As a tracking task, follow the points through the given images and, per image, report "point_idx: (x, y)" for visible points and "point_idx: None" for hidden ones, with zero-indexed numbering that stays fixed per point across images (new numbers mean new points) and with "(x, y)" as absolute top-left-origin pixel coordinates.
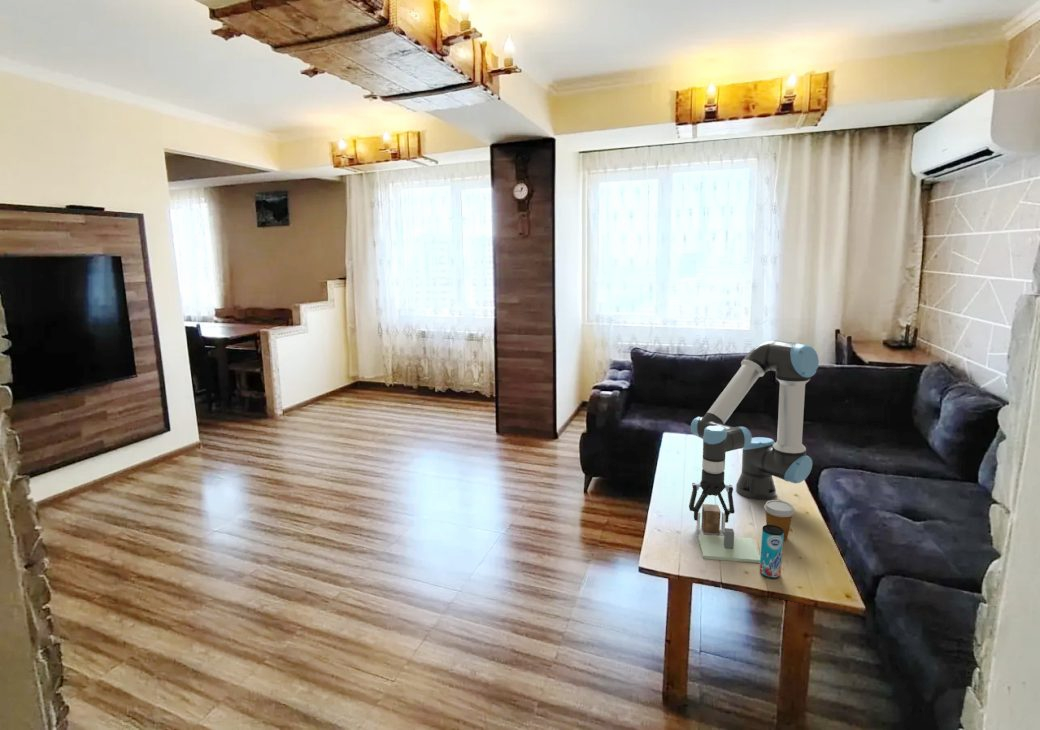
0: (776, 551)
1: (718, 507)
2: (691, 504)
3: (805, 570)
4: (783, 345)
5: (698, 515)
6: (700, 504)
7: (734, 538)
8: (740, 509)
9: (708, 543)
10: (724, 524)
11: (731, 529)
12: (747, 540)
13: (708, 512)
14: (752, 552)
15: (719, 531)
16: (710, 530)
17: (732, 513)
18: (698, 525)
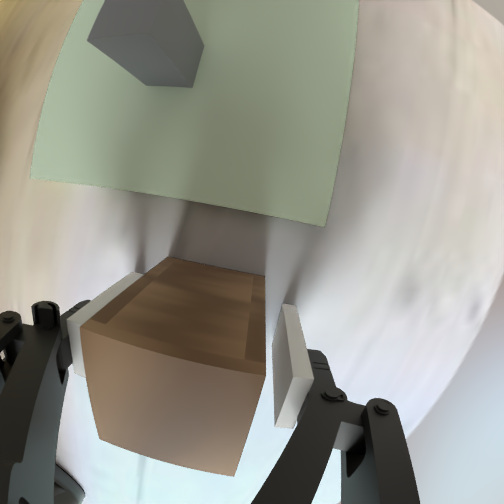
0: None
1: (95, 406)
2: (400, 447)
3: (11, 14)
4: None
5: (306, 366)
6: (302, 456)
7: (102, 167)
8: (63, 429)
9: (293, 100)
10: (111, 289)
11: (104, 24)
12: (52, 151)
13: (216, 354)
14: (85, 36)
15: (161, 261)
16: (218, 274)
17: (17, 313)
18: (293, 320)
